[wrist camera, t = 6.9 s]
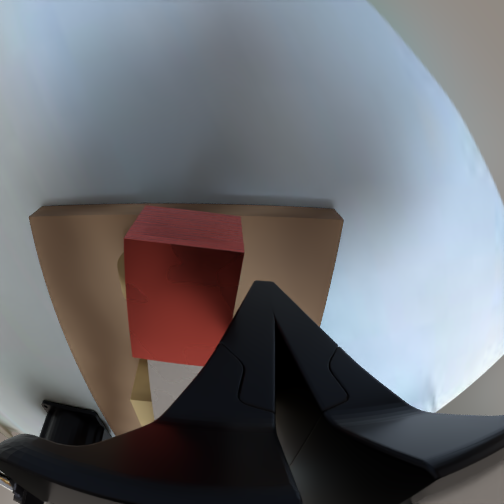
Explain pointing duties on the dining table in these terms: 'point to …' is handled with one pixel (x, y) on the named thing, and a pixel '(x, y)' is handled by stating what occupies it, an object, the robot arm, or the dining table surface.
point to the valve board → (114, 290)
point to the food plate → (5, 482)
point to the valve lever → (180, 292)
